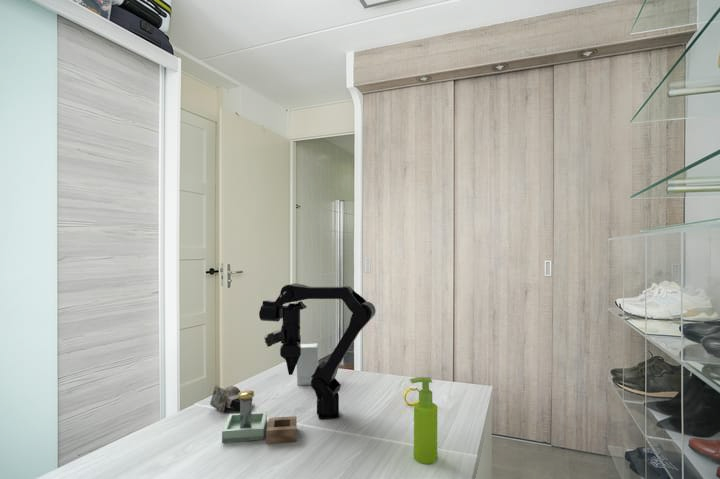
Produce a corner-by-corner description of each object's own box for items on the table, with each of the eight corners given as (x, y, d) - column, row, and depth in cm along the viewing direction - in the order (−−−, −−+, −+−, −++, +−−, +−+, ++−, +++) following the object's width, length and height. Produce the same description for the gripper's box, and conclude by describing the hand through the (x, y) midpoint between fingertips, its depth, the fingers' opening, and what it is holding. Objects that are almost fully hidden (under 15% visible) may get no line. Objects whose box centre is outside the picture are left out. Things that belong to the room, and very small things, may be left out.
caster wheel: (254, 413, 130) (231, 420, 121) (231, 399, 136) (208, 404, 127) (259, 393, 130) (237, 399, 122) (236, 380, 136) (214, 384, 127)
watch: (419, 403, 133) (420, 385, 133) (422, 406, 130) (423, 388, 131) (402, 402, 132) (403, 385, 133) (404, 406, 130) (406, 388, 130)
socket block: (296, 428, 114) (296, 416, 114) (296, 441, 106) (296, 428, 106) (268, 430, 112) (268, 417, 112) (266, 443, 104) (266, 430, 105)
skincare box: (318, 380, 155) (319, 342, 155) (317, 385, 149) (317, 346, 149) (297, 380, 155) (298, 343, 155) (295, 385, 149) (296, 346, 149)
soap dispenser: (407, 452, 101) (407, 374, 101) (433, 451, 101) (433, 374, 102) (412, 464, 95) (412, 382, 95) (440, 463, 95) (440, 382, 96)
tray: (266, 421, 118) (266, 411, 118) (263, 439, 107) (263, 428, 107) (229, 424, 116) (229, 414, 116) (221, 442, 105) (222, 431, 105)
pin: (254, 424, 114) (254, 389, 114) (252, 431, 110) (253, 395, 110) (239, 425, 113) (239, 390, 114) (236, 432, 109) (237, 396, 109)
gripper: (268, 317, 135) (268, 362, 134) (263, 328, 116) (262, 381, 116) (300, 317, 136) (300, 361, 136) (300, 327, 118) (300, 379, 118)
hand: (290, 370), depth 126 cm, fingers open, 9 cm apart
